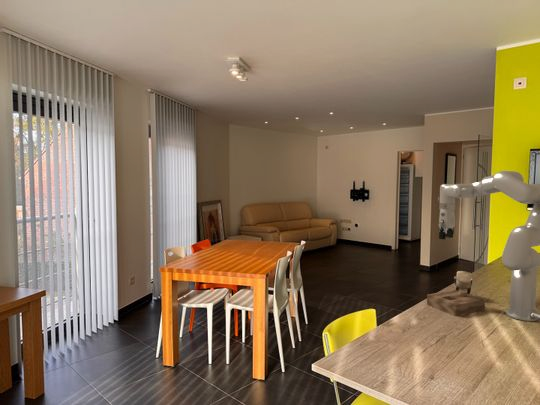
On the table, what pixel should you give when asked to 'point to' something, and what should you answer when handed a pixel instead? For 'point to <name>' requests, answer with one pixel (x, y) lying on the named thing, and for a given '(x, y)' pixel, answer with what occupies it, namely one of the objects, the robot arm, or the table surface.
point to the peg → (463, 282)
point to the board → (455, 302)
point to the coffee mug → (458, 288)
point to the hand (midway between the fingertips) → (446, 238)
